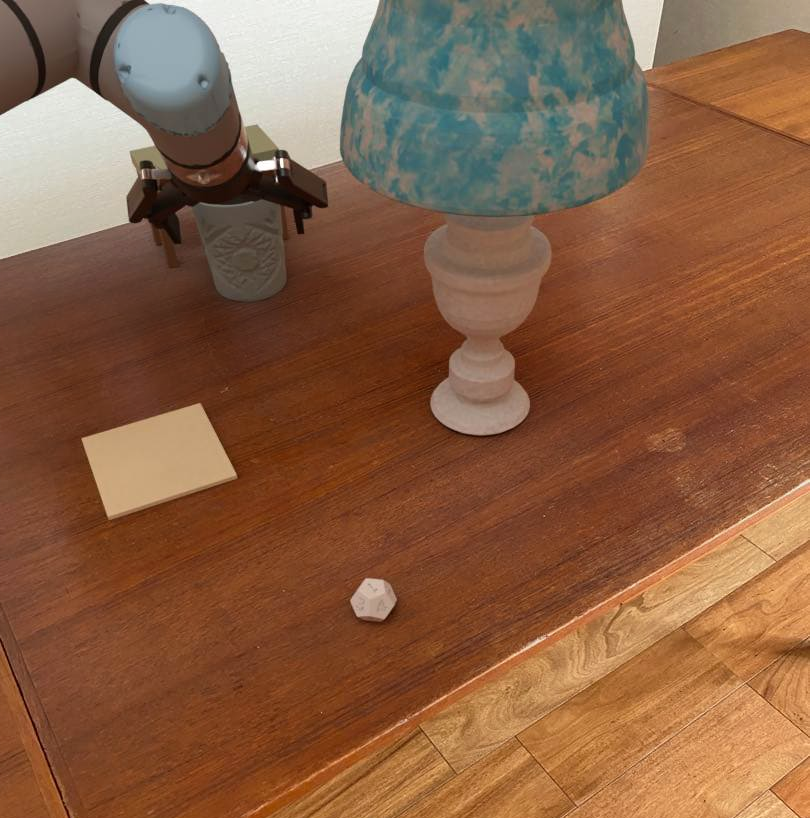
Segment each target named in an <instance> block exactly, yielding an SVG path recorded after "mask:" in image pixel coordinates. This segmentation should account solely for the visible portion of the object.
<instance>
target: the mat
mask: <svg viewBox="0 0 810 818" xmlns="http://www.w3.org/2000/svg"><path fill="white" fill-rule="evenodd" d="M80 439H81V442H82V445H83V448H84V451H85V454H86V457H87V460H88V463H89V466H90V469H91V472H92V474H93V477H94V481H95V484H96V488H97V489H98V493H99V495H100V498H101V502H102V504H103V508H104V511H105V513H106V516H107V519H108V521H111V520H115V519H118V518H121V517H125V516H128V515H130V514H134V513H136V512H139V511H142V510H145V509H149V508H152V507H155V506H158V505H161V504H164V503H168V502H171V501H173V500H176V499H180V498H183V497H186V496H189V495H191V494H194V493H198V492H201V491H204V490H207V489H211V488H214V487H216V486H219V485H223V484H226V483H228V482H232V481H234V480H237V479H238V474H237V472H236V470H235V468H234V466H233V464H232V463H231V460H230V458H229V456H228V455H227V453H226V451H225V448H224V446H223V445H222V443H221V440H220V439H219V437H218V434H217V433H216V431H215V429H214V427H213V424H212V423H211V421H210V419H209V416H208V415H207V412H206V411H205V409H204V406H203V405H202V403H201V402H198V403H195V404H192V405H189V406H185V407H182V408H179V409H174V410H173V411H168V412H165V413H162V414H158V415H154V416H152V417H148V418H144V419H141V420H138V421H134V422H132V423H128V424H125V425H121V426H118V427H115V428H111V429H107V430H104V431H102V432H98V433H93V434H91V435H87V436H84V437H81V438H80Z"/></svg>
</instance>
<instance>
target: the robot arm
mask: <svg viewBox="0 0 810 818" xmlns="http://www.w3.org/2000/svg"><path fill="white" fill-rule="evenodd" d="M70 79H76V80H77V81H78V82H80V83H81V84H82V85H84V86H85V87H86V88H88V89H90V90H91V91H92V92H94V93H95V94H97V95H98V96H99V97H100V98H102V99H103V100H105V101H107V102H109V103H110V104H111V105H113V106H114V107H116V108H117V109H118V110H119V111H121V112H122V113H124V114H125V115H127V116H128V117H130V119H132V120H134V121H135V122H136V123H138V125H140V126H141V127H142V128H143V129H145V131H146V132H147V134H148V135H149V137H150V139H151V140H152V143H153V144H154V145H153V146H155V147H156V148H157V150H158V151H159V153H160V155H161V157H162V159H163V161H164V162H165V164H166V166H167V168H168V169H160V167H158V166H154V165H153V162H151V161H149V160H144V161H140V163H139V164H140V174H139V176H138V175H137V178H136V179H135V181H134V183H133V185H132V186H131V188H130V190H129V191H128V193H127V194H126V197H125V198H126V199H125V200H126V209H127V216H128V217H127V218H128V222H129V223H131V224H139V223H141V222H142V221H143V219H144V220H147V221H148V223H149V224H150V223H152V224H153V225H154V227H155V228H157V229H165V231H166V232H167V234H168V235H169V237H170V238H171V240H172V241H173V243H174V245H182V236H181V226H180V218H179V217H178V214H176V213H177V212H179V211H180V210H182V209H183V208H185V207H186V206H187V207H191V208H192V207H194V206H195V205H197V204H198V203H200V202H201V203H206V204H220V203H224V202H227V201H230V200H232V199H233V198H234V199H236V198H238V197H239V198H242V199H246V200H249V201H252V202H256V201H259V200H261V199H262V200H265V201H269V202H272V203H275V204H279V205H282V206H284V208H289V209H292V214H293V218H294V223H295V228H296V232H297V235H305V225H304V220H309V219H313V206H314V207H316V208H318V209H326V208H328V207H329V197H328V188H327V181H326V180H325V179H323V178H322V177H320V176H318V175H317V174H316V173H313V172H312V171H311V170H310V169H308V168H306V167H304V166H303V165H301V164H299V163H298V162H296V161H295V160H294V159H292V158H291V156H290V154H289V152H288V151H287V150H286V149H279V150H277V151H275V157H272V160H267V161H260V160H259V159H258V158H257V157H255V156H254V155H253V154H252V151H251V147H250V144H249V141H248V137H247V134H246V130H245V127H246V126H245V123H244V121H243V117H242V114H241V111H240V109H239V104H238V101H237V97H236V93H235V90H234V85H233V81H232V72H231V69H230V66H229V62H228V61H227V59H226V57H225V53H224V52H222V51H221V47H220V44H219V43H218V40H217V38H216V36H215V34H214V33H213V31H212V29H211V28H210V26H209V25H208V24H207V23H206V21H204V20H203V19H202V18H201V17H200V16H199V15H198V14H196V13H195V12H194V11H192V10H190V9H189V8H187V7H184V6H180V5H175V4H167V3H163V2H159V3H149V2H148V1H146V0H0V116H2V115H4V114H6V113H7V112H9V111H11V110H13V109H15V108H16V107H18V106H20V105H22V104H23V103H26V102H29V101H30V100H33V99H34V98H36V97H39V96H41V95H42V94H44V93H46V92H48V91H50V90H52V89H53V88H56V87H57V86H59V85H62V84H63V83H65V82H66V81H68V80H70ZM250 189H251V190H250Z"/></svg>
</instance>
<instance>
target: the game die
mask: <svg viewBox="0 0 810 818" xmlns="http://www.w3.org/2000/svg"><path fill="white" fill-rule="evenodd" d="M397 600H398V599H397V596H396V594H395V592H394V589H393V587H392V585H391V584H390V583H389V582H388V581H386V580H385V579H379V578H368V577H365V579H364V580H363V581H362V582H361V584H360V585H359V587H358V588H357V589H356V591H355V592H354V593H353V595H352V597H351V599H350V600H349V602H350V605H351V606H352V609H353V611H354V613H355V615H356V617H357V618H359V619H360V620H363V621H367V622H368V621H369V622H376V623H377V622H378V623H382V622H383V621H384V620H386V618H387V617H388V615H389V614H390V612H391V611H392V609H393V608H394V607H395V605H396V603H397Z"/></svg>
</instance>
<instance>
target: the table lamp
mask: <svg viewBox="0 0 810 818" xmlns="http://www.w3.org/2000/svg"><path fill="white" fill-rule="evenodd" d="M366 35H367V36H366V38H365V40H364V43H363V45H362V50H361V51H362V52H361V58H359V60H358V61H357V62H356V64H355V65H354V67H353V70H352V72H351V74H350V77H349V80H348V83H347V85H346V90H345V95H344V101H343V106H342V113H341V121H340V129H339V130H340V131H339V133H340V134H339V153H340V156H341V157H340V158H341V159H342V162H343V165H344V167H345V168H346V169H347V170H348V171H349V173H350V174H351V175H352V176H353V177H354V178H355V179H356V181H358V182H360V183H361V184H363V185H364V186H365V187H367V188H368V189H370V190H371V191H372V192H374V193H377V194H378V195H380V196H383V197H385V198H387V199H389V200H391V201H394V202H398V203H401V204H404V205H406V206H410V207H412V208H416V209H421V210H426V211H430V212H434V213H439V214H443V217H444V221H445V224H444V225H441V226H439V227H438V228H437V229H435V230H434V231H432V232H431V234H430V235H429V236H428V237H427V239H426V241H425V243H424V246H423V263H424V266H425V268H426V270H427V272H428V274H430V277H431V285H432V293H433V296H434V297H433V298H434V300H435V303H436V306H437V309H438V311H439V313H440V314H441V315H442V318H443V319H444V321H445V322H446V323H447V324H448V325H449V326H450V327H451V328H452V329H454V330H455V331H456V332H459V333H460V334H462V335H464V336H465V337H466V339H465V340H464V342H463V343H462V344H461V347H459V348H457V349H456V350H455V351H454V352H452V354H451V355H450V357H449V359H448V377H446V378H445V379H444V380H443V381H442V382H439V384H438V386H436V387H435V389H434V390H433V391H432V394H431V397H430V402H429V403H430V404H429V405H430V409H431V413H433V415H434V417H435V418H436V419H437V420H438V421H439V422H440V423H441V424H442V425H444V426H445V427H447V428H449V429H451V430H453V431H456V432H458V433H460V434H463V435H471V436H478V437H484V436H491V435H492V436H493V435H499V434H501V433H504V432H506V431H508V430H511V429H513V428H515V427H516V426H518V425H519V424H521V423H522V422H523V421H524V420H525V419H526V417H527V416H528V414H529V412H530V408H531V400H530V397H529V395H528V392H527V391H526V390H525V389H524V387H523V386H522V384H520V383H519V382H518V381H517V380H516V379H515V371H516V370H515V369H516V360H515V358H514V356H513V355H512V353H511V352H510V351H508V349H505V346H504V344H503V343H502V342H501V340H500V338H502V337H504V336H505V335H507V334H510V333H511V332H514V330H516V329H517V328H518V327H519V326H521V325H522V324H523V323H524V322H525V321H526V319H527V318H528V317H529V316H530V313H531V312H532V311H533V309H534V306H535V304H536V302H537V298H538V294H539V290H540V286H541V281H542V278H543V277H544V276H545V275H546V274H547V272H548V271H549V268H550V265H551V262H552V255H553V252H552V245H551V243H550V240H549V239H548V237H547V236H546V235H545V234H544V233H543V232H542V231H541V230H539V229H537V228H536V227H535V226H533V225H532V224H533V223H534V220H535V216H536V215H544V214H550V213H557V212H561V211H566V210H570V209H574V208H578V207H582V206H584V205H585V206H586V205H587V204H590V203H593V202H596V201H599V200H602V199H604V198H606V197H607V196H609V195H611V194H614V193H615V192H617V191H619V190H621V189H622V188H624V187H625V186H627V184H629V183H630V182H631V181H632V180H634V179H635V178H636V177H637V176H638V175H639V174H640V172H642V170H643V168H644V167H645V166H646V163H647V160H648V156H649V153H650V148H651V114H650V106H649V105H650V102H649V92H648V86H647V82H646V81H647V80H646V77H645V73H644V71H643V68H641V66H640V64H639V63H638V61H637V60H636V50H635V43H634V39H633V37H632V33H631V30H630V27H629V24H628V20H627V16H626V14H625V10H624V5H623V0H378V4H377V8H376V12H375V16H374V18H373V20H372V23H371V25H370V28H369V30H368V33H367V34H366Z"/></svg>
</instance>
